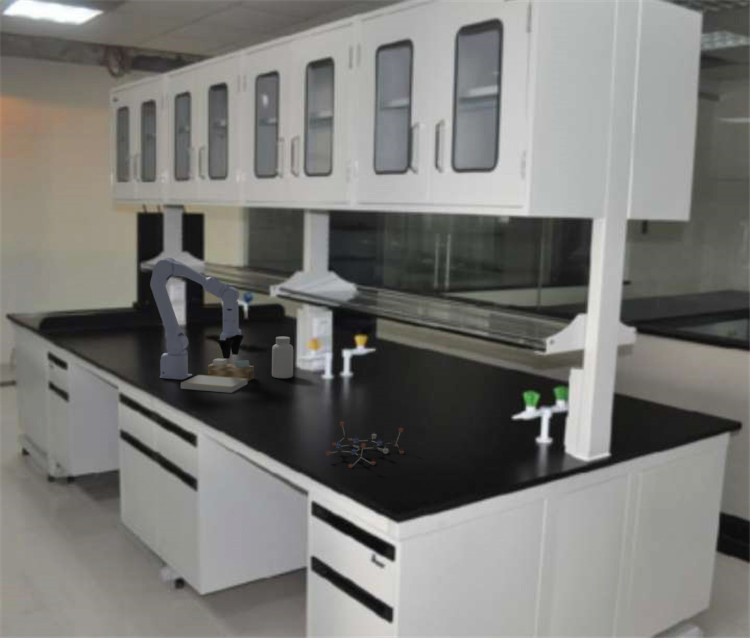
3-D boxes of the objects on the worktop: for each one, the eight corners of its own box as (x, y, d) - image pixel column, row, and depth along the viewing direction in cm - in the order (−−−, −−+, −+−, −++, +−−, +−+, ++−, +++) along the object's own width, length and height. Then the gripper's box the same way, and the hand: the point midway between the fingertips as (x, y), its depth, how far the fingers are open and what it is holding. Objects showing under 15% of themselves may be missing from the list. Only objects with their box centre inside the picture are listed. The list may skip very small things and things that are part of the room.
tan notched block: (208, 378, 299) (207, 365, 298) (213, 375, 304) (213, 362, 303) (248, 381, 295) (248, 368, 294) (253, 379, 300) (253, 365, 299)
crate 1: (212, 365, 298) (212, 360, 298) (217, 363, 302) (217, 358, 302) (222, 366, 297) (222, 360, 297) (226, 364, 301) (226, 359, 301)
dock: (180, 388, 281) (180, 382, 281) (198, 380, 295) (198, 374, 295) (231, 392, 277) (231, 386, 277) (247, 384, 290) (247, 378, 290)
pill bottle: (289, 379, 299) (289, 339, 297) (268, 378, 301) (269, 338, 299) (295, 375, 307) (296, 336, 305) (275, 373, 309) (275, 335, 306)
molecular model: (417, 454, 215) (367, 437, 230) (418, 428, 214) (367, 412, 229) (351, 473, 199) (301, 453, 214) (351, 445, 198) (301, 427, 213)
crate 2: (235, 367, 296) (235, 361, 296) (239, 365, 300) (239, 359, 300) (244, 367, 295) (244, 362, 295) (248, 365, 299) (248, 360, 299)
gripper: (232, 323, 288) (232, 360, 290) (248, 318, 302) (248, 353, 304) (214, 322, 290) (214, 359, 292) (231, 317, 304) (231, 352, 306)
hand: (230, 356), depth 298 cm, fingers open, 7 cm apart
